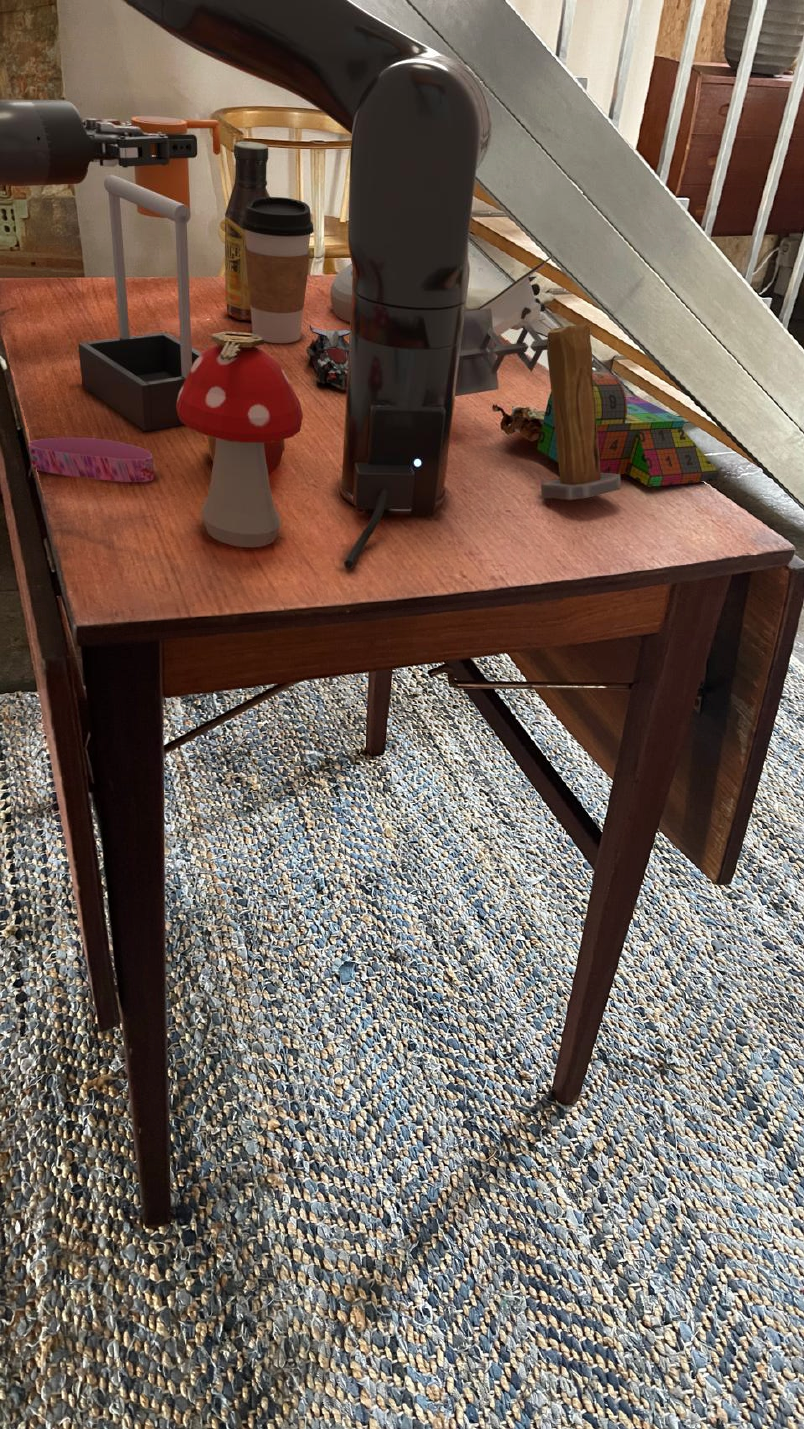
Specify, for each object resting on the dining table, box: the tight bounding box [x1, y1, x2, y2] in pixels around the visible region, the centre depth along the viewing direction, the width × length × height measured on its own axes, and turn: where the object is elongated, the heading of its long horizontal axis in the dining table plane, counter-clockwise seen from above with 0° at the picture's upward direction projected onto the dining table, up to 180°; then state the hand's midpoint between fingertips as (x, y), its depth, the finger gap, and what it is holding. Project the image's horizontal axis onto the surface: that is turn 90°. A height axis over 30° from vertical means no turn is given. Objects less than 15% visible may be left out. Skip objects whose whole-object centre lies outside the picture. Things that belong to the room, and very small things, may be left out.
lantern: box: [455, 308, 622, 501], centre depth 100 cm, size 8×17×30 cm
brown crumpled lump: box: [491, 403, 546, 442], centre depth 104 cm, size 7×12×6 cm, turn 156°
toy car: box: [305, 324, 350, 391], centre depth 115 cm, size 6×12×4 cm, turn 11°
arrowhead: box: [465, 287, 555, 311], centre depth 143 cm, size 12×4×25 cm
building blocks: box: [536, 371, 720, 487], centre depth 98 cm, size 15×10×8 cm
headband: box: [28, 437, 155, 483], centre depth 90 cm, size 11×4×2 cm, turn 85°
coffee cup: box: [242, 196, 315, 344], centre depth 122 cm, size 8×8×15 cm
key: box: [210, 330, 265, 360], centre depth 72 cm, size 4×8×1 cm, turn 2°
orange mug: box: [130, 115, 221, 219], centre depth 112 cm, size 10×6×9 cm, turn 129°
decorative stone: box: [329, 262, 353, 323], centre depth 136 cm, size 18×18×5 cm
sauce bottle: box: [224, 141, 271, 322], centre depth 127 cm, size 7×6×20 cm
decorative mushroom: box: [176, 344, 304, 548], centre depth 78 cm, size 10×9×15 cm
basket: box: [77, 174, 203, 432], centre depth 100 cm, size 14×10×20 cm
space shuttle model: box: [477, 254, 558, 339], centre depth 128 cm, size 16×25×10 cm
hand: (180, 141), depth 111 cm, fingers closed on orange mug, 5 cm apart
